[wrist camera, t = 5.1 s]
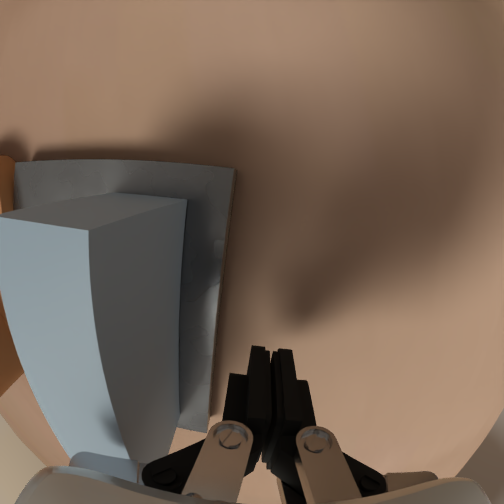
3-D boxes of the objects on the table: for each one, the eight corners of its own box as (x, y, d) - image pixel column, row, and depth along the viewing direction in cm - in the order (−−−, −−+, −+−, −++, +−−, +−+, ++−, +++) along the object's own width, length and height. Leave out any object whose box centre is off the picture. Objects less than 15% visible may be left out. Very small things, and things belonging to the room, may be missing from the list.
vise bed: (237, 169, 12) (234, 168, 11) (209, 417, 16) (206, 433, 15) (30, 162, 12) (15, 162, 11) (53, 368, 16) (44, 378, 15)
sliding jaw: (187, 199, 11) (88, 230, 4) (180, 416, 14) (152, 507, 8) (101, 191, 11) (-21, 213, 4) (118, 399, 14) (75, 476, 7)
